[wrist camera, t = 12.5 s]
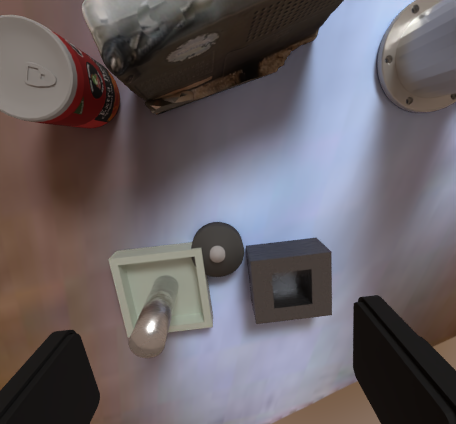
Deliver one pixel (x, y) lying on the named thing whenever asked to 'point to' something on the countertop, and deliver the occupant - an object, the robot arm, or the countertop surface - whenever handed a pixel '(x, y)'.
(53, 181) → the countertop surface
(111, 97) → the canned food
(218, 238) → the wheel
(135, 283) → the parts tray
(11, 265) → the countertop surface
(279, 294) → the block
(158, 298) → the pin
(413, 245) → the countertop surface
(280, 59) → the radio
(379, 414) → the robot arm
